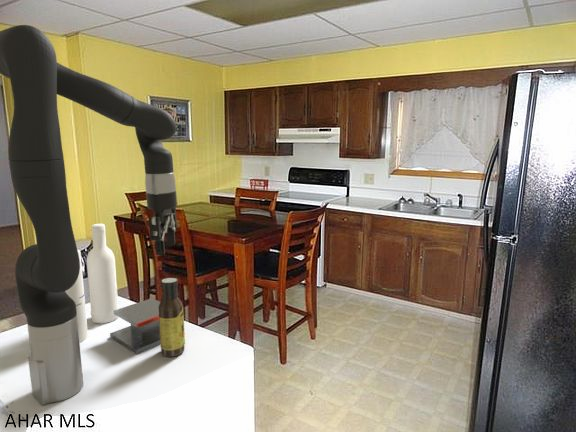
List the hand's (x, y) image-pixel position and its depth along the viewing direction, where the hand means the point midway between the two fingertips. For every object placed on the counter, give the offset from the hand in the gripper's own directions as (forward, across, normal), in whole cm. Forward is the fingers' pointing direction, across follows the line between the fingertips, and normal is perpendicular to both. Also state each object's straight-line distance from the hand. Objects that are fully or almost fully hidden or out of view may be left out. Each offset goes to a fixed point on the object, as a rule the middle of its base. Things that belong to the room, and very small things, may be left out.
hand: (166, 249), depth 107 cm
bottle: (+26, -11, -25) cm, 38 cm away
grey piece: (+26, -1, -8) cm, 27 cm away
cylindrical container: (+26, +2, -28) cm, 38 cm away
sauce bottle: (+26, +7, +2) cm, 27 cm away
